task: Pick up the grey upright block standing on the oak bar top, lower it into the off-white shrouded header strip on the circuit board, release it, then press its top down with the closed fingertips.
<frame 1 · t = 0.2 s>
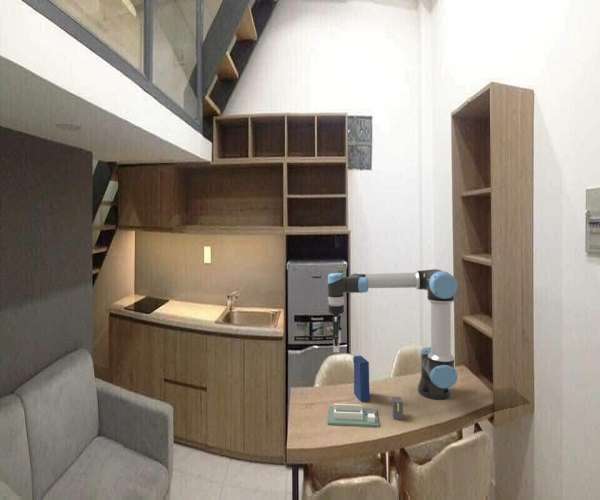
hand: (337, 347, 164), 28 cm above the table, fingers open, 13 cm apart
grey upright block: (397, 416, 151), on the table
header board: (352, 417, 151), on the table
tall blue block: (361, 397, 169), on the table
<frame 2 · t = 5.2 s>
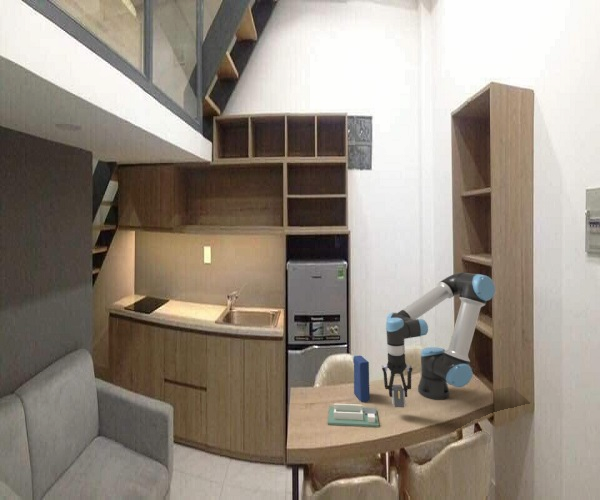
hand: (398, 403, 151), 6 cm above the table, fingers closed on grey upright block, 4 cm apart
grey upright block: (398, 404, 150), point 6 cm above the table, touching gripper
everything else where it was.
when the fingers open (1 cm above the table, at t = 9.9 s): grey upright block stays where it is, resting on header board.
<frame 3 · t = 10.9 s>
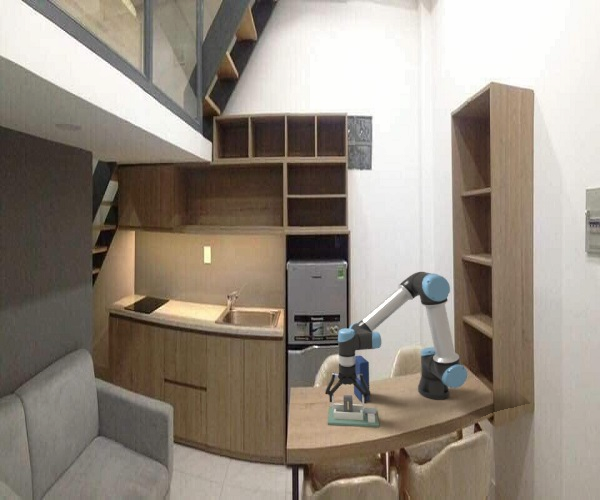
hand: (348, 409, 151), 4 cm above the table, fingers open, 13 cm apart
grey upright block: (348, 415, 151), point 1 cm above the table, touching header board
everything else where it was.
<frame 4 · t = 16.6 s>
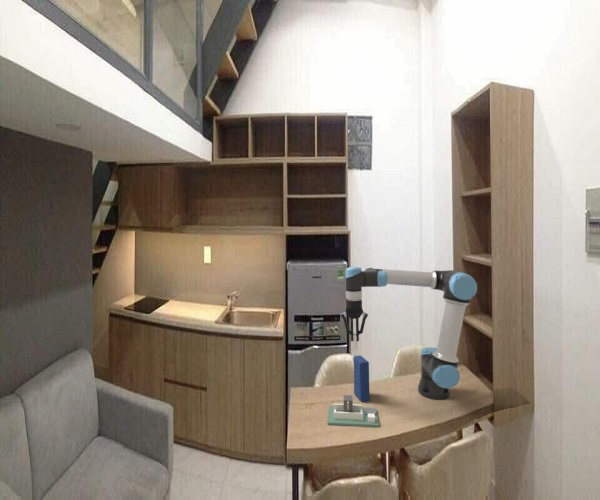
hand: (355, 347, 161), 28 cm above the table, fingers closed
nothing on the table moved.
at the end: grey upright block 1.0 cm from the target spot on the header board, point 1.0 cm above the header board's base; grey upright block tilted 0°; the gripper is holding nothing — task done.
